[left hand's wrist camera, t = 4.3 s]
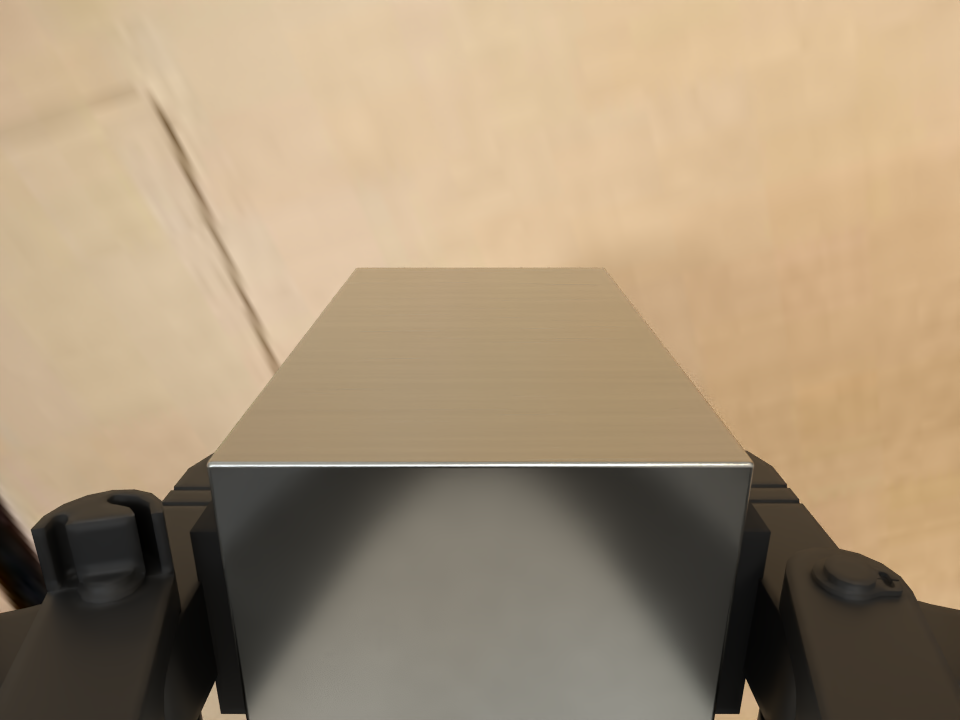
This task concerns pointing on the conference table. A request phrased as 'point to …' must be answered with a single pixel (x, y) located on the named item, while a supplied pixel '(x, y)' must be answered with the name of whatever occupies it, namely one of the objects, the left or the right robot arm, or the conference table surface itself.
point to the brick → (480, 509)
